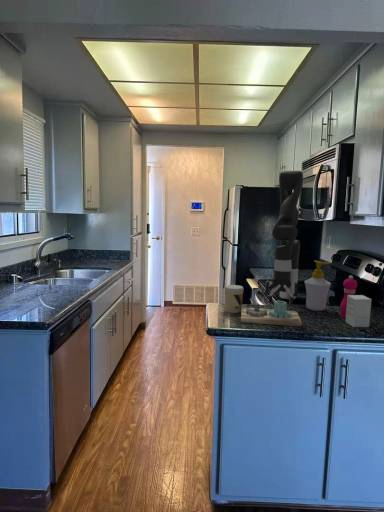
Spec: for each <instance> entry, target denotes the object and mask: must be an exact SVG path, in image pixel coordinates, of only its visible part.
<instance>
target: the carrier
mask: <svg viewBox="0 0 384 512" xmlns="http://www.w3.org/2000/svg"><path fill="white" fill-rule="evenodd" d="M253 305H254V306H253V307H241V312H240V313H241V314H240V323H248V324H263V325H265V324H266V325H277V326H278V325H279V326H289V327H291V326H292V327H302V326H303V322H302V319H301V318H300V316H299V314H298V312H297V310H289V311H290V312H291V317H289V318H279V317H278V318H275V317H272V316H270V315H269V310H270V309H267V308H266V309H265V308H263V307H262V308H261V306H260V303H258V302H257V303H256V302H255V303H254V304H253Z"/></svg>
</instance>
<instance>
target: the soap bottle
mask: <svg viewBox="0 0 384 512" xmlns="http://www.w3.org/2000/svg"><path fill="white" fill-rule="evenodd" d="M313 262H315V263H316V269H314V271H313V272H312V275H311V277H310V278H309V279H305V280H304V285H305V290H306V300H305V306H306V308H307V309H308V310H311V311H315V312H322V311H324V310H325V309H326V308H327V307H326V306H327V298H328V292H329V290H330V288H331V286H332V284H331V282H330V281H328V280H326V279H325V278H324V277H325V273H323V270H322V269H321V267H322V265H330V264H331V262H329V261H328V262H324V261H319V260H313Z"/></svg>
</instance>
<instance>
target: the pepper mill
mask: <svg viewBox="0 0 384 512" xmlns="http://www.w3.org/2000/svg"><path fill="white" fill-rule="evenodd" d="M342 286H343V292H344V296H343V299H342V301H341V302H340V304H339V309H340V314H339V315H340V317H341V318H344V319H346V309H347V296H348V295H355V294H356V289H357V287H358V282H357V280H356V279H354V276H353V275H349V276H348V278H346V279H345V280H343V285H342Z"/></svg>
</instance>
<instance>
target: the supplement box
mask: <svg viewBox="0 0 384 512" xmlns="http://www.w3.org/2000/svg"><path fill="white" fill-rule="evenodd" d="M371 310H372V298H369V297H367V296H366V295H363V294H356V295H355V294H354V295H348V296H347V309H346V318H345V323H346V324H348V325H349V326H351V327H352V328H369V327H370V320H371Z"/></svg>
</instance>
